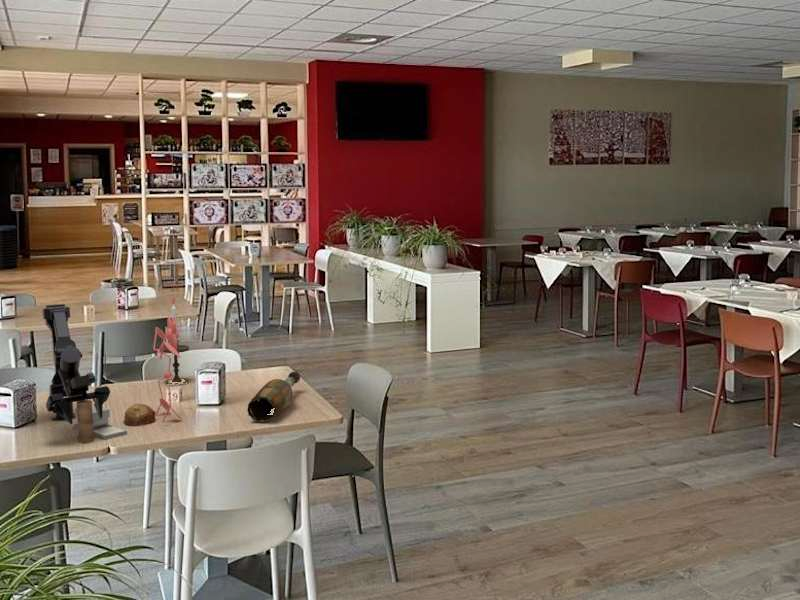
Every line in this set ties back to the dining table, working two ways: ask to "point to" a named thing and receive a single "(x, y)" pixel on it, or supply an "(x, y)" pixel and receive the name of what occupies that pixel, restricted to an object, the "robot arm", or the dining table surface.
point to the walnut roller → (85, 421)
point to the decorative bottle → (272, 398)
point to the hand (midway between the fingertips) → (86, 420)
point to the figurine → (172, 346)
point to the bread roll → (139, 415)
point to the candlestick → (179, 349)
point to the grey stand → (103, 425)
